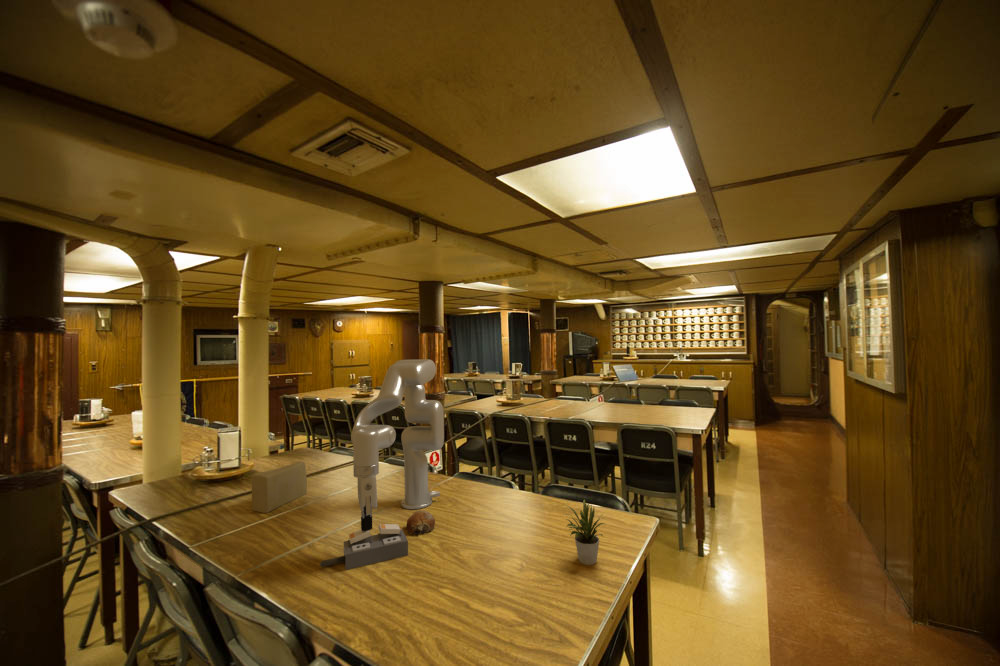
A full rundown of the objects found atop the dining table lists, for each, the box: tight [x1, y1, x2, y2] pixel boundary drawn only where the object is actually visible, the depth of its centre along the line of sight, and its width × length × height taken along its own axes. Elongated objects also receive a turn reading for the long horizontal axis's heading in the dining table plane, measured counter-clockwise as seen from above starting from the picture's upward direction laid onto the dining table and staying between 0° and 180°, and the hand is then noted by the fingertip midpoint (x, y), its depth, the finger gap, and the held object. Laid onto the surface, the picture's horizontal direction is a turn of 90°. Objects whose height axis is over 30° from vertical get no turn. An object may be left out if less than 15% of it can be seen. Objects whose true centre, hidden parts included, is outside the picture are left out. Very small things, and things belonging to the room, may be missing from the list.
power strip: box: [319, 528, 409, 571], centre depth 122 cm, size 25×9×5 cm, turn 115°
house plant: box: [562, 499, 606, 566], centre depth 119 cm, size 14×14×16 cm
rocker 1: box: [348, 529, 372, 544], centre depth 124 cm, size 6×4×2 cm, turn 115°
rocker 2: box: [378, 523, 401, 534], centre depth 128 cm, size 6×4×2 cm, turn 114°
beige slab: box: [251, 460, 308, 514], centre depth 171 cm, size 22×10×15 cm, turn 155°
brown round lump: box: [406, 509, 436, 536], centre depth 142 cm, size 10×10×8 cm
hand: (366, 529), depth 125 cm, fingers closed
